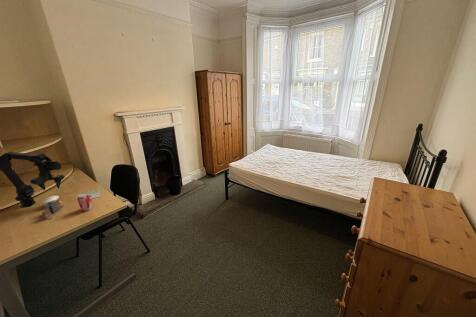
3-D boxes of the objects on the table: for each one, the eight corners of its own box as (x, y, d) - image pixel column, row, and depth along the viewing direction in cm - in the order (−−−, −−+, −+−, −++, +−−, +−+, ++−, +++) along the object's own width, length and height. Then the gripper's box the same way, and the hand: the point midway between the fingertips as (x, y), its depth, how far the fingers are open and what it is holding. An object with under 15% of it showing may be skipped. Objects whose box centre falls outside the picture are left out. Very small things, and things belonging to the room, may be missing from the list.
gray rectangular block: (48, 214, 136) (44, 205, 134) (51, 210, 140) (48, 202, 137) (54, 213, 137) (51, 204, 135) (58, 210, 141) (54, 201, 138)
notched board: (40, 220, 131) (37, 213, 129) (55, 207, 145) (53, 200, 143) (51, 219, 132) (48, 212, 130) (65, 205, 147) (62, 199, 145)
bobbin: (42, 209, 143) (39, 202, 141) (50, 202, 151) (47, 196, 149) (56, 207, 145) (53, 201, 143) (63, 201, 153) (61, 194, 151)
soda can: (95, 207, 144) (90, 193, 140) (84, 213, 138) (80, 198, 134) (89, 205, 147) (85, 191, 143) (79, 210, 141) (74, 196, 137)
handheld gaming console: (84, 199, 152) (84, 192, 164) (85, 201, 153) (84, 194, 164) (99, 195, 158) (98, 188, 169) (100, 197, 159) (99, 190, 170)
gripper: (20, 176, 132) (29, 196, 138) (52, 173, 136) (59, 192, 142) (32, 170, 143) (40, 188, 148) (61, 167, 146) (68, 185, 152)
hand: (51, 189), depth 147 cm, fingers open, 9 cm apart
